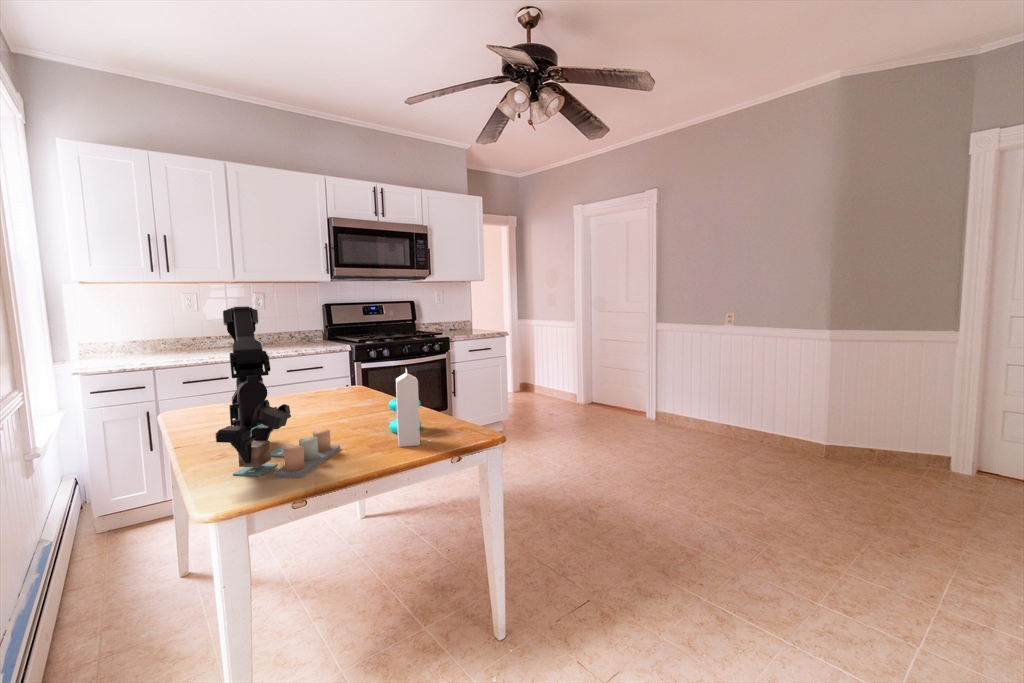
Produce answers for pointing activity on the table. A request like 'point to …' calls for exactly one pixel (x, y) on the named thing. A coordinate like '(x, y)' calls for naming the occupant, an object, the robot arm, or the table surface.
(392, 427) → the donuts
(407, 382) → the milk
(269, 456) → the brown cube
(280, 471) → the board
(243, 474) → the pad two
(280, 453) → the pad three
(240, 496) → the table surface
